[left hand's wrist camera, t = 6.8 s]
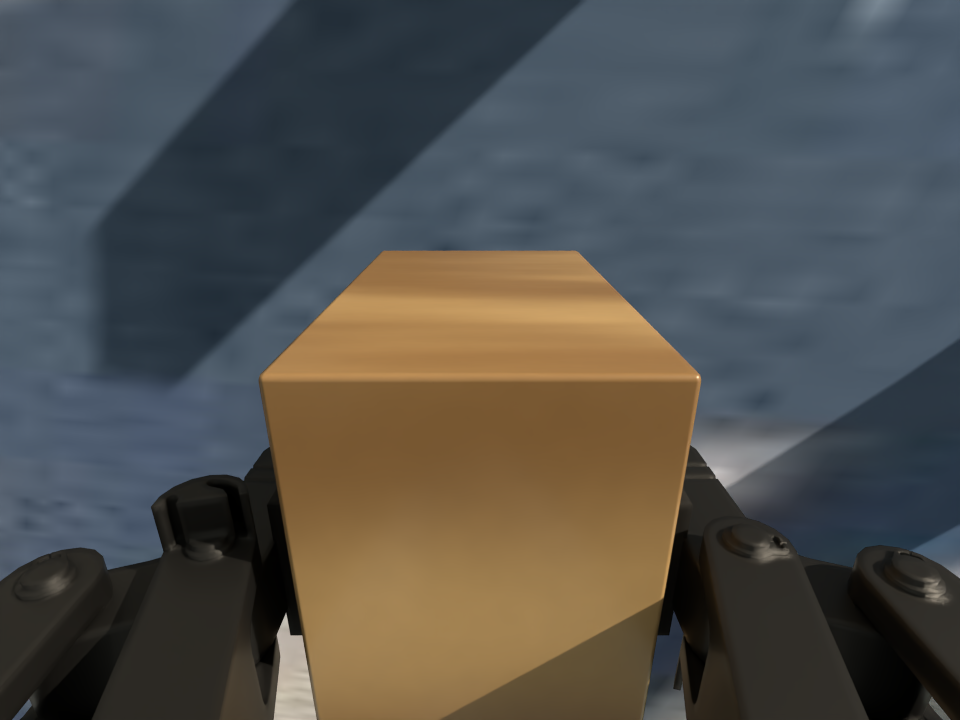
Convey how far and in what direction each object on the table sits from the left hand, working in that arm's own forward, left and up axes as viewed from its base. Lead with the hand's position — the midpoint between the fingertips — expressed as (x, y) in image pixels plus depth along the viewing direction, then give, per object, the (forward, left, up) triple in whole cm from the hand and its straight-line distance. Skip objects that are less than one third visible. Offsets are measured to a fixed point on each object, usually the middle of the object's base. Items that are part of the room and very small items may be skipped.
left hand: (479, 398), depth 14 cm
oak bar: (0, +10, 0) cm, 10 cm away
